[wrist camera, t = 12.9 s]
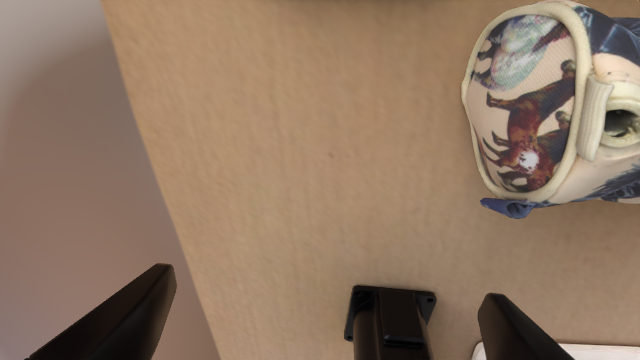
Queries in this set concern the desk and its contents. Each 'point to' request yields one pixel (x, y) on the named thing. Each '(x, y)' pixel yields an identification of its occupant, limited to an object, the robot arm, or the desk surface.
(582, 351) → the smartphone
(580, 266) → the desk surface
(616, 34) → the pencil case
